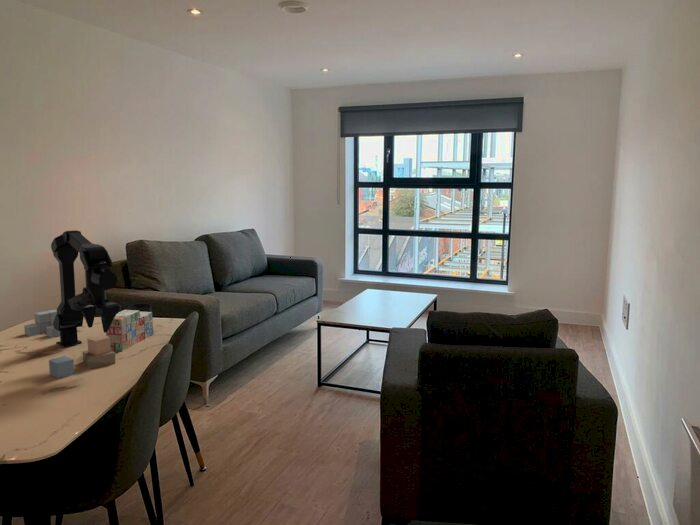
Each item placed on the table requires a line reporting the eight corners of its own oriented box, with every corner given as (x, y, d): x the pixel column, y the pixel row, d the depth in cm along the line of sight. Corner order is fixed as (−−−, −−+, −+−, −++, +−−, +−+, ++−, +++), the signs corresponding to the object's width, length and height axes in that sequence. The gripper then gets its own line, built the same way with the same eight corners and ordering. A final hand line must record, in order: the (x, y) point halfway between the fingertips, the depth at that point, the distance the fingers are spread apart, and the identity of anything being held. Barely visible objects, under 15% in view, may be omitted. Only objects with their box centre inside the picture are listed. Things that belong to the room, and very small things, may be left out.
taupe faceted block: (83, 362, 176) (82, 351, 175) (107, 357, 181) (107, 346, 180) (90, 369, 170) (89, 357, 169) (115, 364, 175) (115, 352, 174)
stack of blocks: (139, 333, 209) (138, 303, 207) (153, 334, 208) (152, 304, 206) (106, 350, 188) (105, 317, 186) (122, 351, 187) (121, 318, 185)
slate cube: (49, 375, 163) (48, 360, 163) (65, 370, 167) (64, 355, 167) (58, 378, 161) (56, 363, 160) (74, 374, 165) (73, 359, 164)
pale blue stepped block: (24, 335, 202) (23, 315, 201) (55, 328, 212) (54, 309, 211) (41, 340, 196) (40, 320, 195) (72, 333, 206) (71, 313, 205)
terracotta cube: (88, 352, 174) (87, 338, 173) (102, 348, 178) (101, 334, 177) (96, 355, 171) (95, 341, 170) (110, 351, 175) (109, 337, 175)
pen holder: (157, 328, 215) (156, 305, 213) (137, 334, 207) (136, 310, 205) (142, 324, 220) (141, 302, 218) (122, 330, 212) (121, 306, 210)
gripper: (55, 284, 169) (58, 330, 172) (87, 292, 159) (89, 341, 162) (89, 279, 178) (91, 323, 181) (120, 286, 168) (122, 332, 171)
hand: (97, 329), depth 173 cm, fingers open, 9 cm apart
